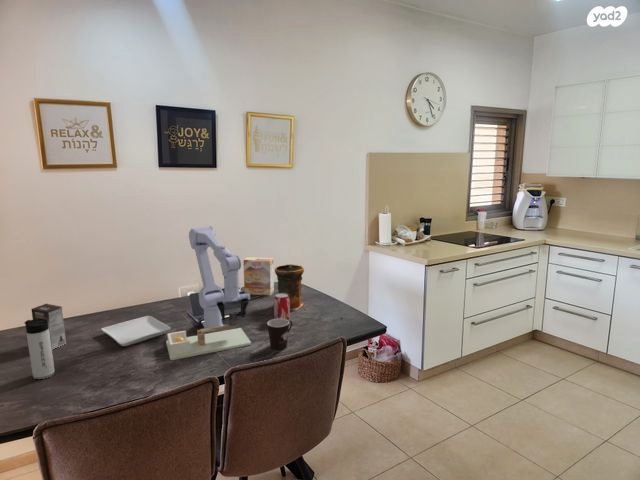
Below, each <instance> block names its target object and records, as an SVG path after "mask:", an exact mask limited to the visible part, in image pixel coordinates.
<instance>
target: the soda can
mask: <svg viewBox="0 0 640 480" xmlns="http://www.w3.org/2000/svg"><path fill="white" fill-rule="evenodd" d="M273 310H274V311H273V314H274V315H273V316H274V319H279V318H280V319H286V320H288V321H290V316H291V315H290V313H291V312H290V311H291V310H290V303H289V297H288V294H285V293H279V294H278V293H276V294H275V296H274V299H273Z"/></svg>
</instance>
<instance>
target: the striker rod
mask: <svg viewBox="0 0 640 480" xmlns="http://www.w3.org/2000/svg"><path fill="white" fill-rule="evenodd" d="M237 315H238V314H237V312H230V313H228V316H229V317H228V319H229V322H228V323H229V324H223V326H217V327H211V328H200V329H197V332H196V333H197V335H196V336H198V342H199V344H200V345H204V344H205V334H206V333H208V332H209V333H211V332H217V331H223V330H228V329H234V328H236V327H237V325H238V317H237Z"/></svg>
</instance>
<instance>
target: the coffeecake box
mask: <svg viewBox="0 0 640 480" xmlns="http://www.w3.org/2000/svg"><path fill="white" fill-rule="evenodd" d="M274 273H275V269H274V258H273V257H258V256H255V257H253V256H247V257H245V258H244V259H243V282H244V283H243V285H244V286H243V287H244V290H243V291H244V294H248V293H249V294H250V295H259V296H271V295H273V293H274V292H275V279H274V277H275V275H274Z"/></svg>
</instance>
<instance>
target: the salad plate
mask: <svg viewBox="0 0 640 480" xmlns="http://www.w3.org/2000/svg"><path fill="white" fill-rule="evenodd" d="M171 328H172V327H170V326H169V325H167V324H165V323H163V322H162V321H160V320H158V319H156V318H155V317H153V316H151V315H146V316H142V317H138V318H134V319H130V320H126V321H123V322H119V323H118V322H117V323H116V324H113V325H107V326H105V327H102V328H100V331H102V332H103V333H104V334H106V335H107V336H109V337H110V338H111V339H112V340H114V341H115V342H116V343H118V345H120V346H122V347H128V346H130V345H136V344H138V343H140V342H144V341H146V340H151V339H153V338H156V337H158V336H161V335H165V334H168V332H170V330H171Z"/></svg>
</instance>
